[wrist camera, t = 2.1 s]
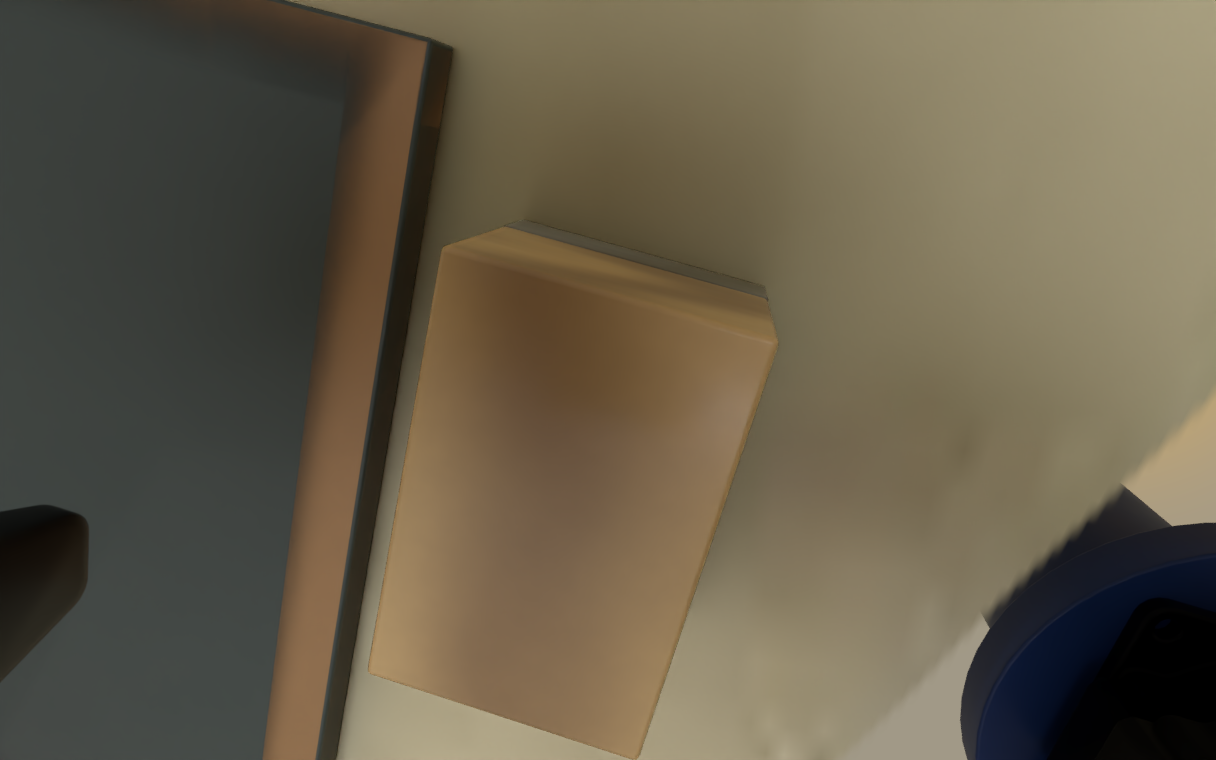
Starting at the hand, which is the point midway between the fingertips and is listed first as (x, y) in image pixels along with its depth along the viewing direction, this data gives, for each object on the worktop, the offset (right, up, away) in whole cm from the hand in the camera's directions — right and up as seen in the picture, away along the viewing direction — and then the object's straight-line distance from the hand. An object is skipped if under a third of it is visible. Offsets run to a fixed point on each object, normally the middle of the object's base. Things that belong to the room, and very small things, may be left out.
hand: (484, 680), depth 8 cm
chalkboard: (-12, 0, +10) cm, 15 cm away
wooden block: (+1, +2, +7) cm, 7 cm away
